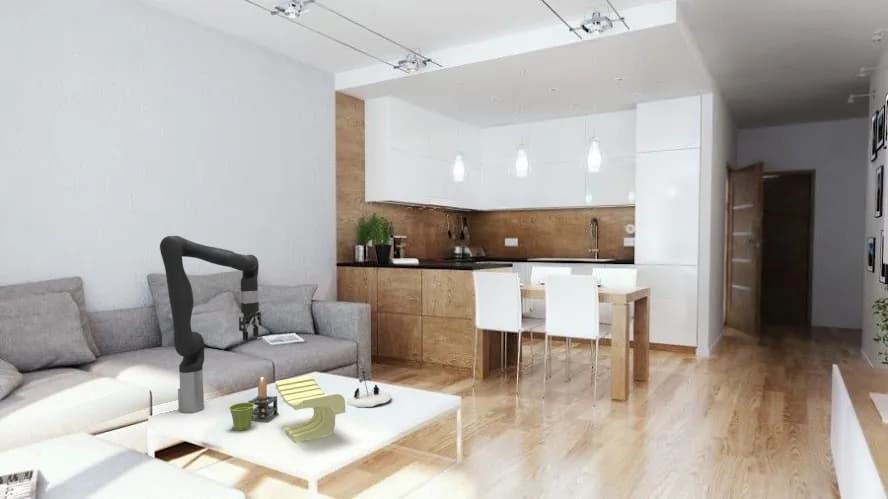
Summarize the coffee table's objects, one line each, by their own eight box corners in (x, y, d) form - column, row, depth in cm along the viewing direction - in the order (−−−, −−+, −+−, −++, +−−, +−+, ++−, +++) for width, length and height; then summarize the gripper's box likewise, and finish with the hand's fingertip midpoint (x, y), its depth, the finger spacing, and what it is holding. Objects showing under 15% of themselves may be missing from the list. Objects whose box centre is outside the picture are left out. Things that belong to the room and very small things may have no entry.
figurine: (395, 393, 266) (390, 358, 265) (387, 406, 248) (382, 369, 247) (353, 396, 269) (348, 362, 268) (341, 410, 250) (337, 373, 249)
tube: (257, 416, 237) (255, 378, 236) (261, 414, 240) (260, 375, 239) (265, 417, 236) (263, 378, 235) (269, 414, 239) (268, 376, 239)
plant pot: (240, 434, 221) (239, 411, 220) (224, 429, 226) (223, 407, 225) (260, 426, 228) (259, 404, 228) (244, 422, 233) (243, 401, 233)
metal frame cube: (247, 421, 234) (246, 401, 234) (258, 413, 243) (258, 395, 243) (268, 422, 233) (267, 402, 232) (278, 415, 241) (278, 396, 241)
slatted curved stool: (346, 440, 213) (344, 392, 212) (304, 450, 204) (302, 400, 203) (315, 417, 238) (314, 374, 237) (276, 425, 229) (275, 381, 228)
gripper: (250, 298, 258) (251, 334, 259) (232, 303, 244) (233, 341, 245) (265, 298, 257) (267, 335, 258) (248, 303, 243) (250, 341, 244)
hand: (250, 338), depth 251 cm, fingers open, 8 cm apart
